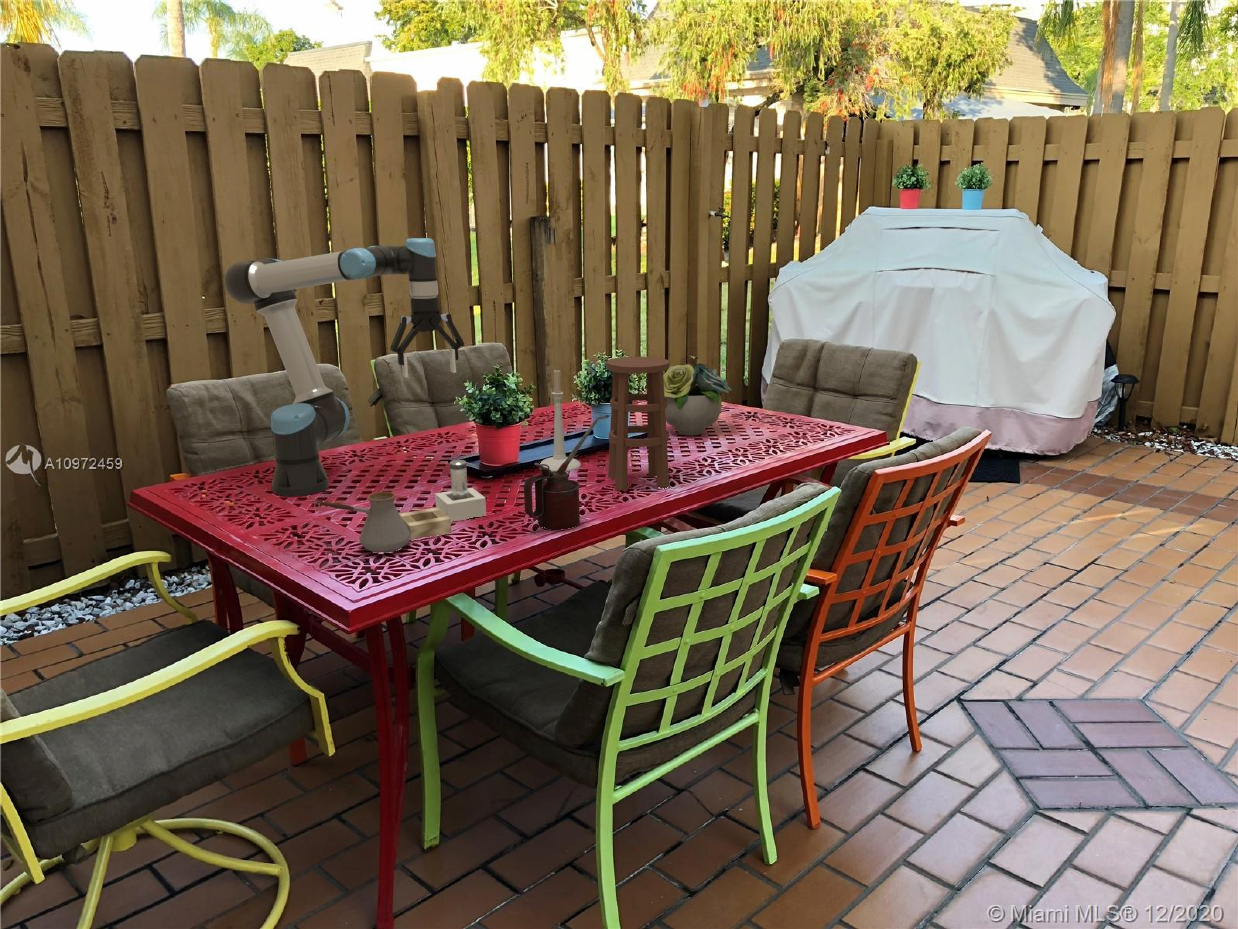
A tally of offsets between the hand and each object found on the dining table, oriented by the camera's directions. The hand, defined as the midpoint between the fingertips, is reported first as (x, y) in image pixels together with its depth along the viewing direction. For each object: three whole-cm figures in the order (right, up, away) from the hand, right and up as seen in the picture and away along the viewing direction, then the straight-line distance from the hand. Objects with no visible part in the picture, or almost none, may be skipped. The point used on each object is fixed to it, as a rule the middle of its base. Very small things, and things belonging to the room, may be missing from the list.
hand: (429, 374), depth 245 cm
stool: (+58, -30, +8) cm, 66 cm away
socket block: (+5, -41, -29) cm, 51 cm away
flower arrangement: (+77, -14, +63) cm, 101 cm away
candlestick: (+34, -26, +25) cm, 50 cm away
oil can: (+41, -39, -21) cm, 60 cm away
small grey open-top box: (+12, -38, -17) cm, 43 cm away
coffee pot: (-5, -46, -42) cm, 63 cm away
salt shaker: (+12, -38, -17) cm, 43 cm away
